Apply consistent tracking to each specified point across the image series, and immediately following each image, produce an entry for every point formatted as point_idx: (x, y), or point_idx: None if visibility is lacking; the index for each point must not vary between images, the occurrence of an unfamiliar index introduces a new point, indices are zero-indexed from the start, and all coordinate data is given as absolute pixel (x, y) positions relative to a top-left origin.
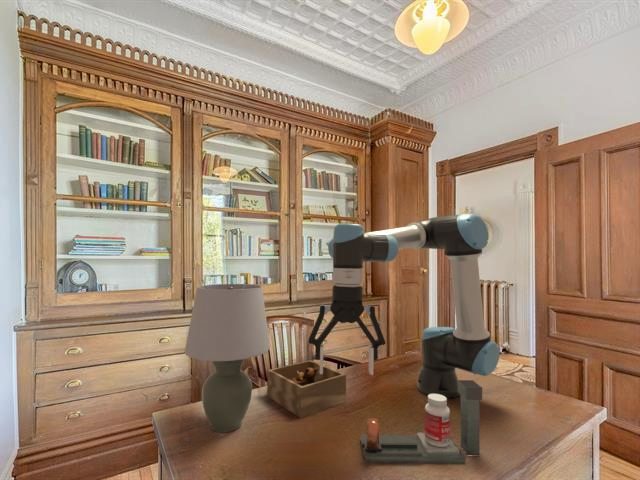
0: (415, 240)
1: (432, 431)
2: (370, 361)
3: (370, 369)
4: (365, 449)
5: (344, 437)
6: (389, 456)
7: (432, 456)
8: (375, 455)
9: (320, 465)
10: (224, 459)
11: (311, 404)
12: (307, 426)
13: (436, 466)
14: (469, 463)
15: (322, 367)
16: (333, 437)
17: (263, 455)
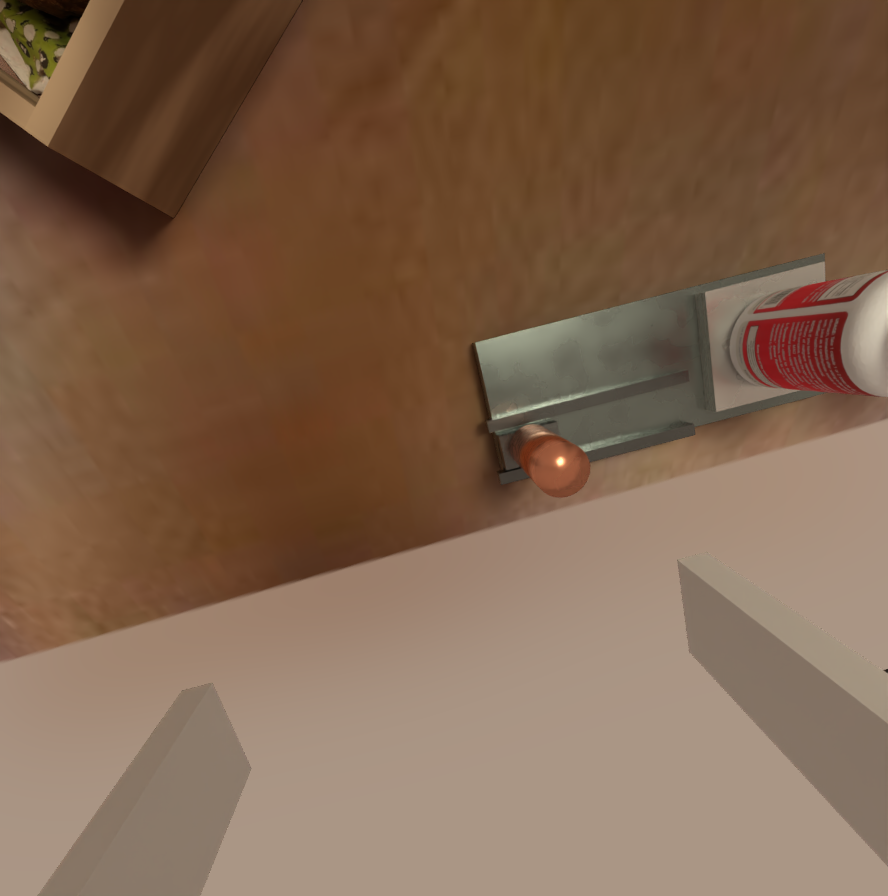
0: None
1: (789, 384)
2: (804, 775)
3: (727, 691)
4: (506, 469)
5: (408, 336)
6: None
7: (722, 418)
8: None
9: (364, 521)
10: (55, 576)
11: (179, 135)
12: (234, 288)
13: (715, 430)
14: None
15: (217, 839)
16: (366, 348)
17: (165, 524)
